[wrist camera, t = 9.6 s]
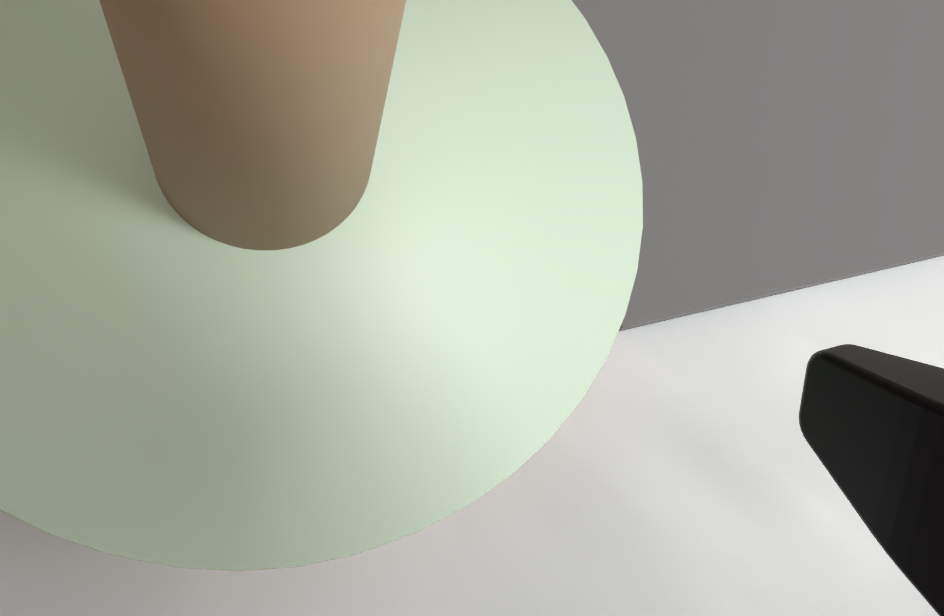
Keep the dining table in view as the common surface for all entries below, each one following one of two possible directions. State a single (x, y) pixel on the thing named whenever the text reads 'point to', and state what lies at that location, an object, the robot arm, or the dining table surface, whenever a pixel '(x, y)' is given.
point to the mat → (777, 142)
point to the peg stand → (298, 264)
